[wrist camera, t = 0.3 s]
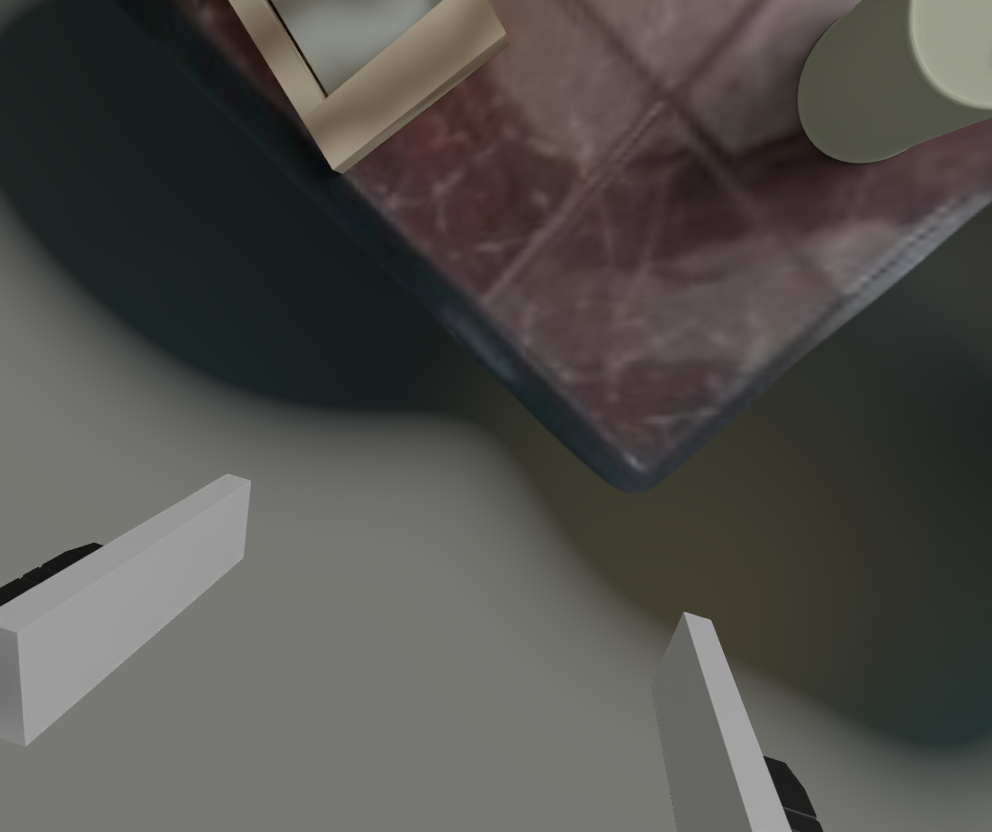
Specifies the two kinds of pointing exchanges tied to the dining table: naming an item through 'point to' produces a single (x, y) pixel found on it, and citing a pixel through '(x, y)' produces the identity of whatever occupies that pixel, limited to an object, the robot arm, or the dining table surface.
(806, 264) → the dining table surface
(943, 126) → the can
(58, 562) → the robot arm
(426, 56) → the beige flat square frame
